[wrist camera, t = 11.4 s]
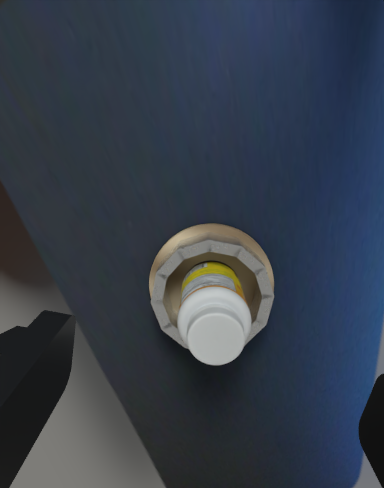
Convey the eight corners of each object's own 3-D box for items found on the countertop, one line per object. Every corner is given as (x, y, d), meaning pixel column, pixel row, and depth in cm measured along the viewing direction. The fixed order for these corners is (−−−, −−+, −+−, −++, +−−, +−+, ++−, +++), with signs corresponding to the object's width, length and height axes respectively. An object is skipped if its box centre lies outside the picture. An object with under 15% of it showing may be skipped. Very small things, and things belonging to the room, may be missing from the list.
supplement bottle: (231, 317, 34) (243, 384, 24) (176, 304, 34) (166, 366, 24) (247, 265, 33) (267, 313, 23) (190, 251, 32) (185, 293, 22)
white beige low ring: (167, 223, 32) (163, 230, 29) (278, 245, 32) (286, 254, 29) (148, 324, 34) (143, 340, 32) (251, 344, 35) (255, 361, 32)
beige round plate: (161, 212, 32) (160, 213, 31) (285, 236, 33) (288, 239, 32) (141, 324, 36) (140, 329, 35) (255, 346, 36) (256, 352, 35)
